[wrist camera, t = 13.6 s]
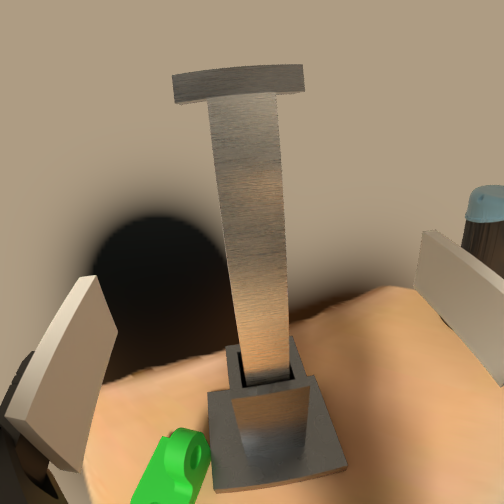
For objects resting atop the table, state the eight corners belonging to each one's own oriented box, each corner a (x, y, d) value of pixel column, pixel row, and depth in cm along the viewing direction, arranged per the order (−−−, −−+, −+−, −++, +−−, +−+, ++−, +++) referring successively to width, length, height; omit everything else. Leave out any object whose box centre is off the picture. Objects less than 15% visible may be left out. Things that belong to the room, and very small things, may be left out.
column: (298, 378, 29) (287, 71, 17) (307, 405, 26) (304, 63, 14) (230, 389, 29) (178, 81, 17) (234, 417, 26) (171, 74, 13)
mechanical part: (167, 443, 31) (145, 408, 27) (213, 455, 29) (198, 422, 26) (130, 521, 20) (94, 499, 17) (180, 540, 19) (152, 526, 15)
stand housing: (313, 381, 38) (318, 297, 32) (345, 469, 25) (373, 400, 19) (209, 398, 37) (185, 317, 30) (216, 493, 24) (179, 435, 18)
